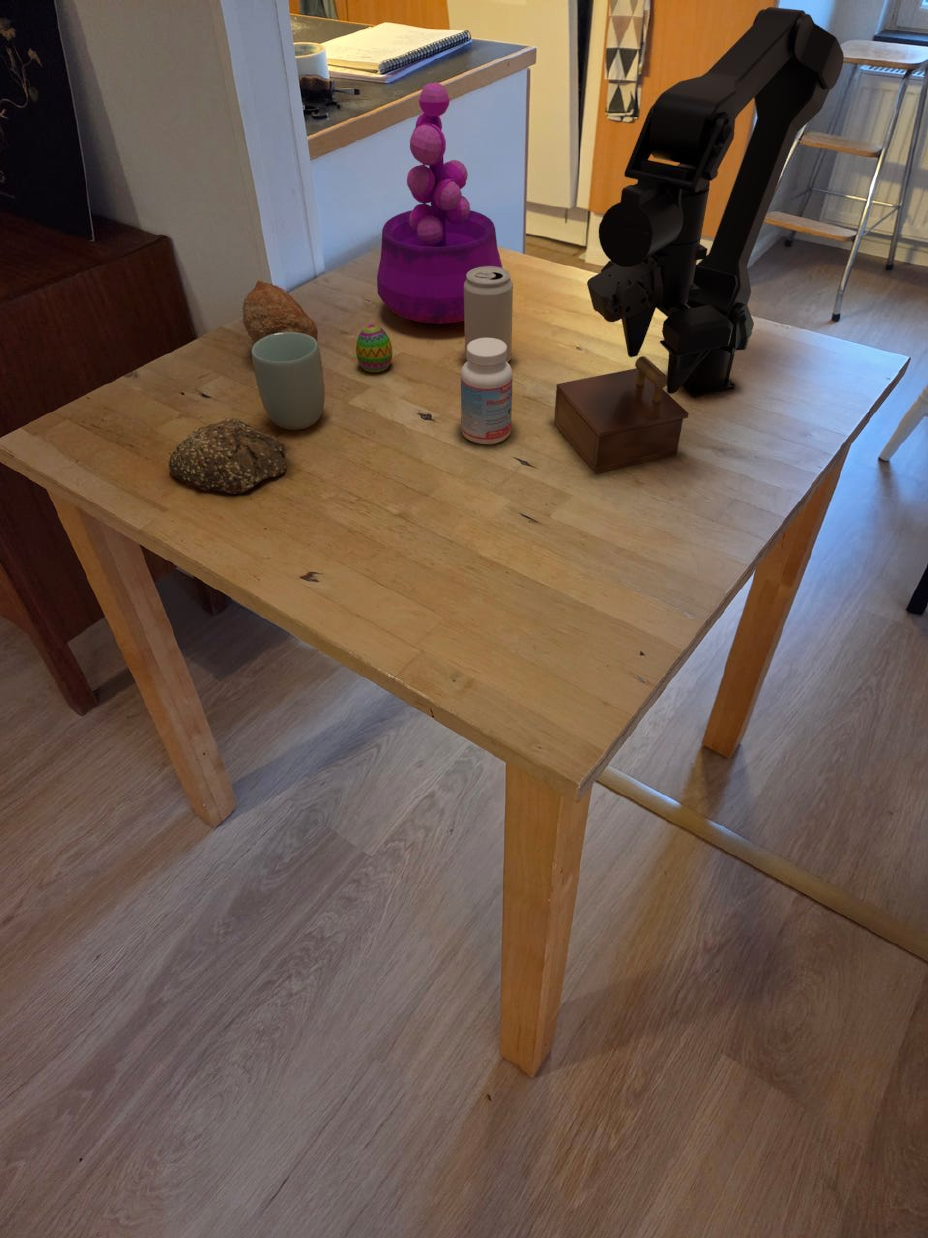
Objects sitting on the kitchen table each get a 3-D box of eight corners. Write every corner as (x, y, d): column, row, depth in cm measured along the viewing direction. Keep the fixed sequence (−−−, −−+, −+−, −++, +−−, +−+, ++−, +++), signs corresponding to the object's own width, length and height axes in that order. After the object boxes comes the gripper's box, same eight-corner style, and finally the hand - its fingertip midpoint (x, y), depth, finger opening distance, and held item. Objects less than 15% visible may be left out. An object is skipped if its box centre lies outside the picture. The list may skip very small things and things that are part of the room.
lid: (639, 371, 104) (643, 340, 101) (688, 417, 96) (694, 385, 94) (556, 388, 102) (558, 357, 99) (599, 437, 94) (603, 405, 91)
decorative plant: (504, 340, 121) (508, 100, 100) (375, 341, 122) (352, 102, 101) (501, 285, 135) (505, 64, 114) (385, 286, 135) (367, 66, 114)
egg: (364, 378, 114) (360, 336, 110) (353, 362, 117) (348, 321, 113) (398, 371, 115) (395, 328, 111) (386, 355, 118) (382, 314, 114)
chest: (630, 407, 107) (634, 372, 104) (676, 455, 100) (683, 419, 96) (553, 423, 105) (556, 388, 102) (595, 473, 97) (599, 437, 94)
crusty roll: (310, 331, 124) (300, 262, 117) (326, 370, 116) (316, 298, 109) (245, 340, 122) (231, 271, 115) (256, 381, 114) (241, 309, 107)
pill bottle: (495, 451, 101) (496, 364, 93) (452, 437, 103) (449, 350, 95) (520, 428, 104) (523, 342, 96) (478, 414, 107) (477, 329, 99)
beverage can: (507, 373, 114) (509, 285, 106) (460, 369, 115) (459, 282, 107) (514, 351, 119) (517, 265, 110) (469, 348, 120) (468, 262, 111)
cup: (340, 412, 108) (330, 338, 101) (307, 443, 102) (294, 367, 96) (288, 400, 110) (275, 326, 103) (253, 429, 105) (237, 354, 98)
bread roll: (156, 473, 98) (144, 436, 95) (233, 426, 106) (225, 390, 102) (235, 510, 93) (225, 472, 90) (310, 457, 100) (304, 420, 97)
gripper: (562, 215, 91) (554, 350, 102) (647, 281, 79) (627, 428, 90) (654, 201, 94) (636, 334, 105) (750, 263, 81) (718, 407, 92)
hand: (651, 373), depth 98 cm, fingers open, 9 cm apart
